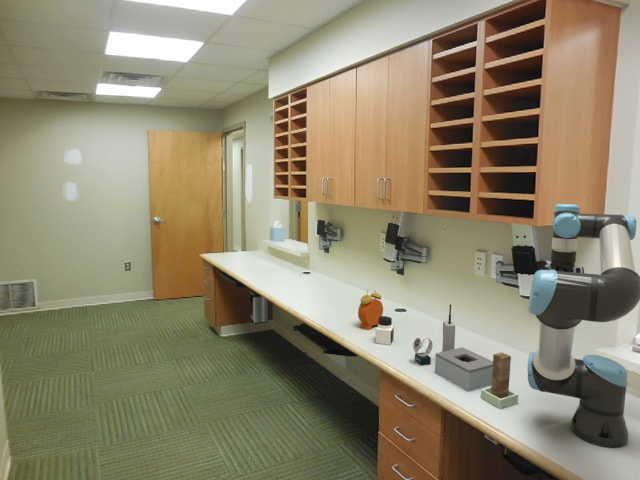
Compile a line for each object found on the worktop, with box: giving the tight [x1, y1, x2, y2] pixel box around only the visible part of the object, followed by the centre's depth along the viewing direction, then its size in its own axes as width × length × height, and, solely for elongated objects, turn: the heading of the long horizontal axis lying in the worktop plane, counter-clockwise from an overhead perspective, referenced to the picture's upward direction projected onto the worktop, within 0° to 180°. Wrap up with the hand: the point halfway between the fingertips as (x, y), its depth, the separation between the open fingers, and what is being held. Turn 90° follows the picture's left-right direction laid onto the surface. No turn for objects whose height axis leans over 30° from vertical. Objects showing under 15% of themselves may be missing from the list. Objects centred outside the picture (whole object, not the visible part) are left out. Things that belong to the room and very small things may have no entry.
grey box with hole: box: [434, 346, 493, 392], centre depth 184 cm, size 18×14×8 cm
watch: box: [412, 336, 434, 367], centre depth 198 cm, size 6×8×11 cm
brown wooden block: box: [490, 352, 512, 399], centre depth 165 cm, size 4×4×16 cm
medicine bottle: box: [375, 315, 395, 346], centre depth 221 cm, size 7×7×12 cm
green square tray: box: [480, 386, 519, 409], centre depth 166 cm, size 9×9×3 cm
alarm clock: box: [357, 287, 384, 331], centre depth 242 cm, size 13×6×20 cm, turn 135°
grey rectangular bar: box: [441, 303, 456, 352], centre depth 198 cm, size 4×5×25 cm
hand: (558, 310), depth 164 cm, fingers open, 13 cm apart
